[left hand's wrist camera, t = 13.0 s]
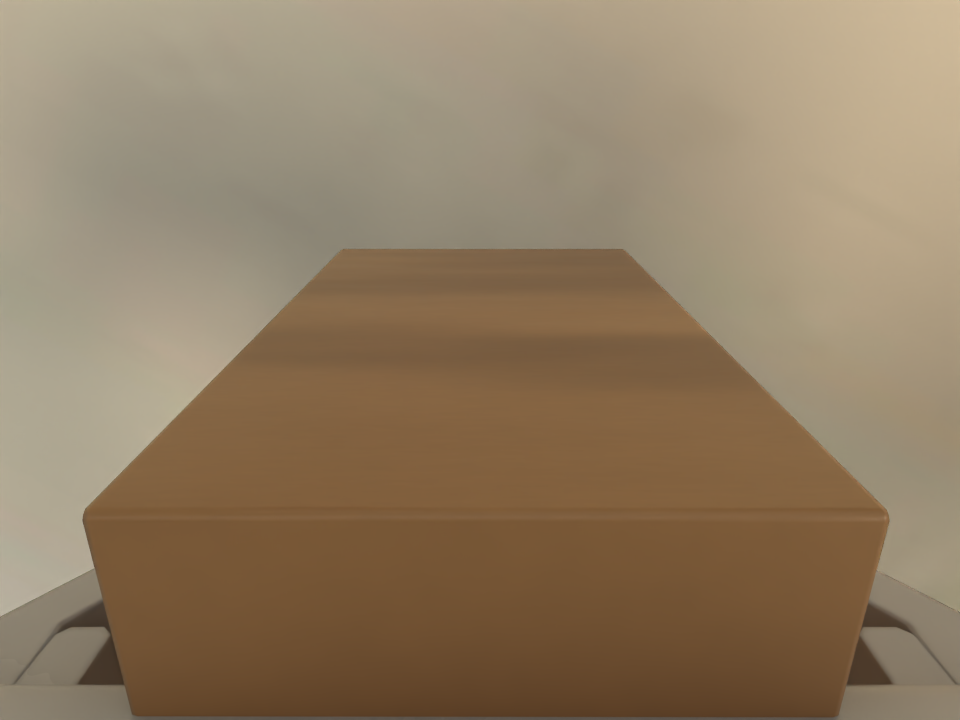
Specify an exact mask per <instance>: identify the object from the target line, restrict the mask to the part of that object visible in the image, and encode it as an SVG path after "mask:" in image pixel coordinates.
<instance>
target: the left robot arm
mask: <svg viewBox="0 0 960 720" xmlns="http://www.w3.org/2000/svg"><path fill="white" fill-rule="evenodd" d="M0 720H960V612H958V611H956V610H954V609H952V608H950V607H948V606H946V605H944V604H942V603H940V602H938V601H936V600H934V599H932V598H930V597H928V596H926V595H924V594H922V593H920V592H918V591H917V590H915V589H913V588H911V587H909V586H907V585H905V584H903V583H901V582H899V581H897V580H895V579H893V578H891V577H889V576H887V575H885V574H883V573H881V572H879V571H877V570H876V574H875V578H874V582H873V586H872V589H871V593H870V597H869V601H868V605H867V608H866V612H865V616H864V620H863V624H862V628H861V631H860V635H859V639H858V643H857V647H856V650H855V654H854V658H853V662H852V666H851V669H850V673H849V677H848V681H847V685H846V688H845V692H844V696H843V700H842V704H841V708H840V711H839V715H838V716H835V717H206V716H135V715H132V713H131V709H130V705H129V701H128V697H127V693H126V689H125V685H124V681H123V677H122V673H121V669H120V666H119V662H118V658H117V654H116V650H115V646H114V642H113V638H112V634H111V630H110V626H109V622H108V618H107V614H106V611H105V607H104V603H103V599H102V595H101V591H100V587H99V583H98V579H97V575H96V571H95V568H94V569H92V570H90V571H88V572H86V573H85V574H83V575H81V576H79V577H77V578H75V579H73V580H71V581H69V582H67V583H65V584H63V585H61V586H59V587H57V588H55V589H53V590H51V591H49V592H48V593H46V594H44V595H42V596H40V597H38V598H36V599H34V600H32V601H30V602H28V603H26V604H24V605H22V606H20V607H18V608H16V609H14V610H13V611H11V612H9V613H7V614H5V615H3V616H1V617H0Z"/></svg>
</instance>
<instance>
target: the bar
mask: <svg viewBox="0 0 960 720" xmlns="http://www.w3.org/2000/svg"><path fill="white" fill-rule="evenodd" d="M83 524H84V528H85V532H86V536H87V540H88V544H89V548H90V552H91V556H92V559H93V563H94V567H95V571H96V575H97V579H98V583H99V587H100V591H101V595H102V599H103V603H104V607H105V611H106V614H107V618H108V622H109V626H110V630H111V634H112V638H113V642H114V646H115V650H116V654H117V658H118V662H119V666H120V669H121V673H122V677H123V681H124V685H125V689H126V693H127V697H128V701H129V705H130V709H131V713H132V715H135V716H206V717H835V716H838V715H839V711H840V708H841V704H842V700H843V696H844V692H845V688H846V685H847V681H848V677H849V673H850V669H851V666H852V662H853V658H854V654H855V650H856V647H857V643H858V639H859V635H860V631H861V628H862V624H863V620H864V616H865V612H866V608H867V605H868V601H869V597H870V593H871V589H872V586H873V582H874V578H875V574H876V570H877V567H878V563H879V559H880V555H881V551H882V547H883V544H884V540H885V536H886V532H887V528H888V525H889V515H888V512H887V510H886V509H885V508H884V507H883V506H882V505H881V504H880V503H879V502H878V501H877V500H876V499H875V498H874V497H873V496H872V495H871V494H870V493H869V492H868V491H867V490H866V489H865V488H864V487H863V486H862V485H861V484H860V483H859V482H858V481H857V480H856V479H855V478H854V477H853V476H852V475H851V474H850V473H849V472H848V471H847V470H846V469H845V468H844V467H843V466H842V465H841V464H840V463H839V462H838V461H837V460H836V459H835V458H834V457H833V456H832V455H831V454H830V453H829V452H828V451H827V450H826V449H825V448H824V447H823V446H822V445H821V444H820V443H819V442H818V441H817V440H816V439H815V438H814V437H813V436H812V435H811V434H809V433H808V432H807V431H806V430H805V429H804V428H803V427H802V426H801V425H800V424H799V423H798V422H797V421H796V420H795V419H794V418H793V417H792V416H791V415H790V414H789V413H788V412H787V411H786V410H785V409H784V408H783V407H782V406H781V405H780V404H779V403H778V402H777V401H776V400H775V399H774V398H773V397H772V396H771V395H770V394H769V393H768V392H767V391H766V390H765V389H764V388H763V387H762V386H761V385H760V384H759V383H758V382H757V381H756V380H755V379H754V378H753V377H752V376H751V375H750V374H749V373H748V372H747V371H746V370H745V369H744V368H743V367H742V366H741V365H740V364H739V363H738V362H737V361H736V360H735V359H734V358H733V357H732V356H731V355H730V354H729V353H728V352H727V351H726V350H725V349H724V348H723V347H722V346H721V345H720V344H719V343H718V342H717V341H716V340H715V339H714V338H713V337H712V336H711V335H710V334H709V333H708V332H707V331H706V330H705V329H704V328H703V327H702V326H701V325H700V324H699V323H698V322H697V321H696V320H695V319H694V318H693V317H692V316H691V315H690V314H689V313H688V312H687V311H685V310H684V309H683V308H682V307H681V306H680V305H679V304H678V303H677V302H676V301H675V300H674V299H673V298H672V297H671V296H670V295H669V294H668V293H667V292H666V291H665V290H664V289H663V288H662V287H661V286H660V285H659V284H658V283H657V282H656V281H655V280H654V279H653V278H652V277H651V276H650V275H649V274H648V273H647V272H646V271H645V270H644V269H643V268H642V267H641V266H640V265H639V264H638V263H637V262H636V261H635V260H634V259H633V258H632V257H631V256H630V255H629V254H628V253H627V252H626V251H625V250H623V249H343V250H341V251H340V252H339V253H338V254H337V255H336V256H335V257H334V258H333V259H332V260H331V261H330V262H329V263H328V264H327V265H326V266H325V267H324V268H323V269H322V270H321V271H320V272H319V273H318V274H317V275H316V276H315V277H314V278H313V279H312V280H311V281H310V282H309V283H308V284H307V285H306V286H305V287H304V288H303V289H302V290H301V291H300V292H299V293H298V294H297V295H296V296H295V297H294V298H293V299H292V300H291V301H290V302H289V303H288V304H287V305H286V306H285V307H284V308H283V309H282V310H281V311H280V312H279V313H278V314H277V315H276V316H275V317H274V319H273V320H272V321H271V322H270V323H269V324H268V325H267V326H266V327H265V328H264V329H263V330H262V331H261V332H260V333H259V334H258V335H257V336H256V337H255V338H254V339H253V340H252V341H251V342H250V343H249V344H248V345H247V346H246V347H245V348H244V349H243V350H242V351H241V352H240V353H239V354H238V355H237V356H236V357H235V358H234V359H233V360H232V361H231V362H230V363H229V364H228V365H227V366H226V367H225V368H224V369H223V370H222V371H221V372H220V373H219V374H218V375H217V376H216V377H215V378H214V379H213V380H212V381H211V382H210V383H209V384H208V385H207V386H206V387H205V388H204V389H203V390H202V391H201V392H200V393H199V394H198V395H197V396H196V397H195V398H194V399H193V400H192V401H191V403H190V404H189V405H188V406H187V407H186V408H185V409H184V410H183V411H182V412H181V413H180V414H179V415H178V416H177V417H176V418H175V419H174V420H173V421H172V422H171V423H170V424H169V425H168V426H167V427H166V428H165V429H164V430H163V431H162V432H161V433H160V434H159V435H158V436H157V437H156V438H155V439H154V440H153V441H152V442H151V443H150V444H149V445H148V446H147V447H146V448H145V449H144V450H143V451H142V452H141V453H140V454H139V455H138V456H137V457H136V458H135V459H134V460H133V461H132V462H131V463H130V464H129V465H128V466H127V467H126V468H125V469H124V470H123V471H122V472H121V473H120V474H119V475H118V476H117V477H116V478H115V479H114V480H113V481H112V482H111V483H110V484H109V485H108V487H107V488H106V489H105V490H104V491H103V492H102V493H101V494H100V495H99V496H98V497H97V498H96V499H95V500H94V501H93V502H92V503H91V504H90V505H89V506H88V507H87V508H86V509H85V511H84V514H83Z"/></svg>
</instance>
